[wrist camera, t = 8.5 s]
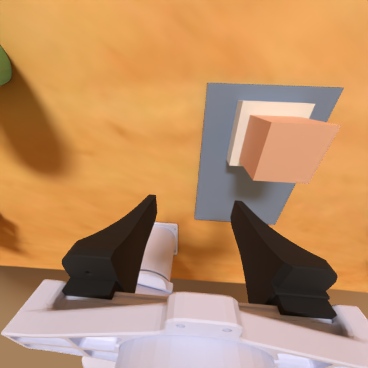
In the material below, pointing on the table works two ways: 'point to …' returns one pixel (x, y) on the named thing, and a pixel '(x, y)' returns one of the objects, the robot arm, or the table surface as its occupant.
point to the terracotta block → (285, 147)
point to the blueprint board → (236, 176)
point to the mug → (4, 67)
